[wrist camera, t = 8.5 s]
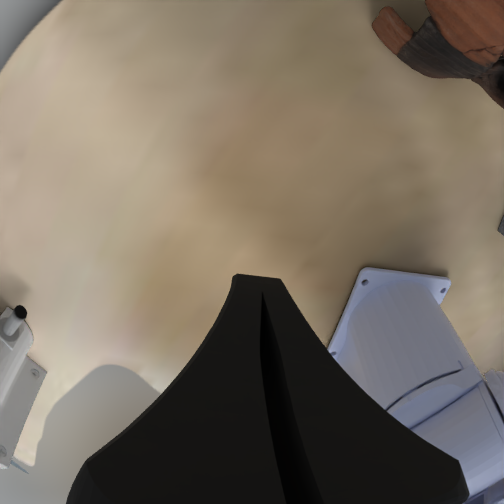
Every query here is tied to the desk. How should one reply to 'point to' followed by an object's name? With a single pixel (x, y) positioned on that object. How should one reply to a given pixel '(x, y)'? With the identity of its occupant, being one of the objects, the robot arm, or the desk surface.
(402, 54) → the pottery mug
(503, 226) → the tan l-shaped slab
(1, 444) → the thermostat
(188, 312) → the desk surface
